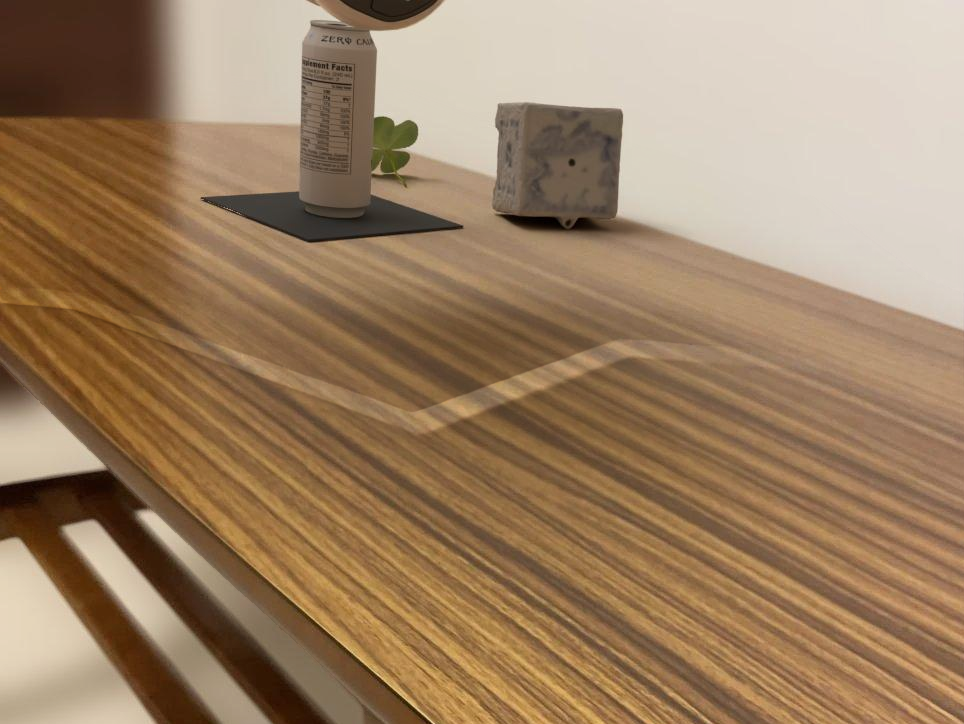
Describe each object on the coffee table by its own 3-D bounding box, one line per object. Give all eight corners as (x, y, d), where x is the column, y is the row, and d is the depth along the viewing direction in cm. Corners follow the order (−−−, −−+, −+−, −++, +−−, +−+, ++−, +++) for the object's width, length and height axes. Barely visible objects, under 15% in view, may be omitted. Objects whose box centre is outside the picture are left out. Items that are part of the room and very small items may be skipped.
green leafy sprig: (385, 230, 125) (365, 184, 127) (452, 188, 123) (430, 142, 126) (350, 192, 118) (330, 144, 121) (421, 147, 117) (398, 100, 120)
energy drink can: (384, 214, 107) (393, 28, 100) (337, 222, 102) (343, 28, 96) (332, 201, 110) (337, 19, 103) (284, 208, 105) (286, 18, 98)
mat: (308, 242, 96) (308, 239, 96) (200, 199, 106) (200, 197, 106) (463, 227, 106) (463, 225, 106) (352, 190, 116) (352, 188, 116)
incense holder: (581, 211, 119) (594, 98, 114) (617, 231, 112) (632, 111, 107) (485, 208, 115) (495, 91, 110) (516, 229, 108) (528, 104, 104)
